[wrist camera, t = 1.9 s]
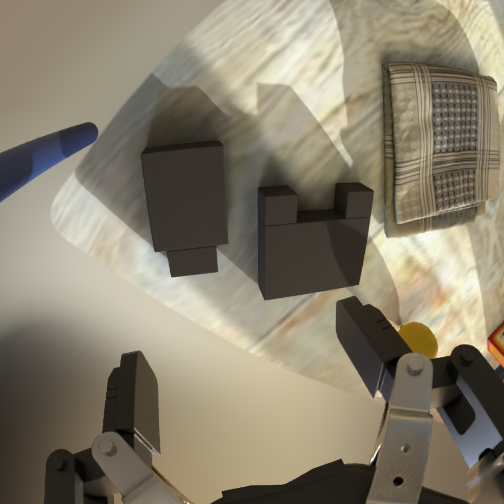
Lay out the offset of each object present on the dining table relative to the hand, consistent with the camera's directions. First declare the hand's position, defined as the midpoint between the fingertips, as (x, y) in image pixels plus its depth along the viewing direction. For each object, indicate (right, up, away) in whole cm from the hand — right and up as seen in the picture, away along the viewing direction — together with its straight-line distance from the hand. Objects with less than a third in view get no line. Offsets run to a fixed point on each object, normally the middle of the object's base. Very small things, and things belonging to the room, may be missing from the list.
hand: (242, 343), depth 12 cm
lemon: (+22, -7, +28) cm, 36 cm away
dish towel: (+21, +15, +16) cm, 31 cm away
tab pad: (-5, +7, +14) cm, 16 cm away
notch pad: (+6, +5, +17) cm, 19 cm away
